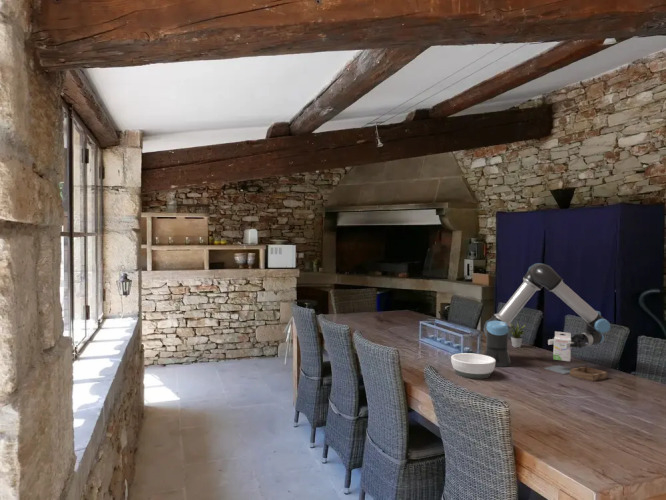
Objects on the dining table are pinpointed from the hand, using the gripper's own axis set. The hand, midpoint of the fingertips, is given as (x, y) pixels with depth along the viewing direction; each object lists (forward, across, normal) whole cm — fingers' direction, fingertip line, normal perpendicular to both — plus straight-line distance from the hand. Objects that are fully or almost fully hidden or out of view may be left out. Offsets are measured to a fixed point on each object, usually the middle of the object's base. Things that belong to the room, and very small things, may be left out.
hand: (557, 344), depth 264 cm
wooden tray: (-6, -14, -15) cm, 21 cm away
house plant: (-28, +51, -15) cm, 60 cm away
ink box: (-4, 0, -9) cm, 10 cm away
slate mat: (-4, 0, -15) cm, 15 cm away
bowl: (+45, +17, -15) cm, 50 cm away
